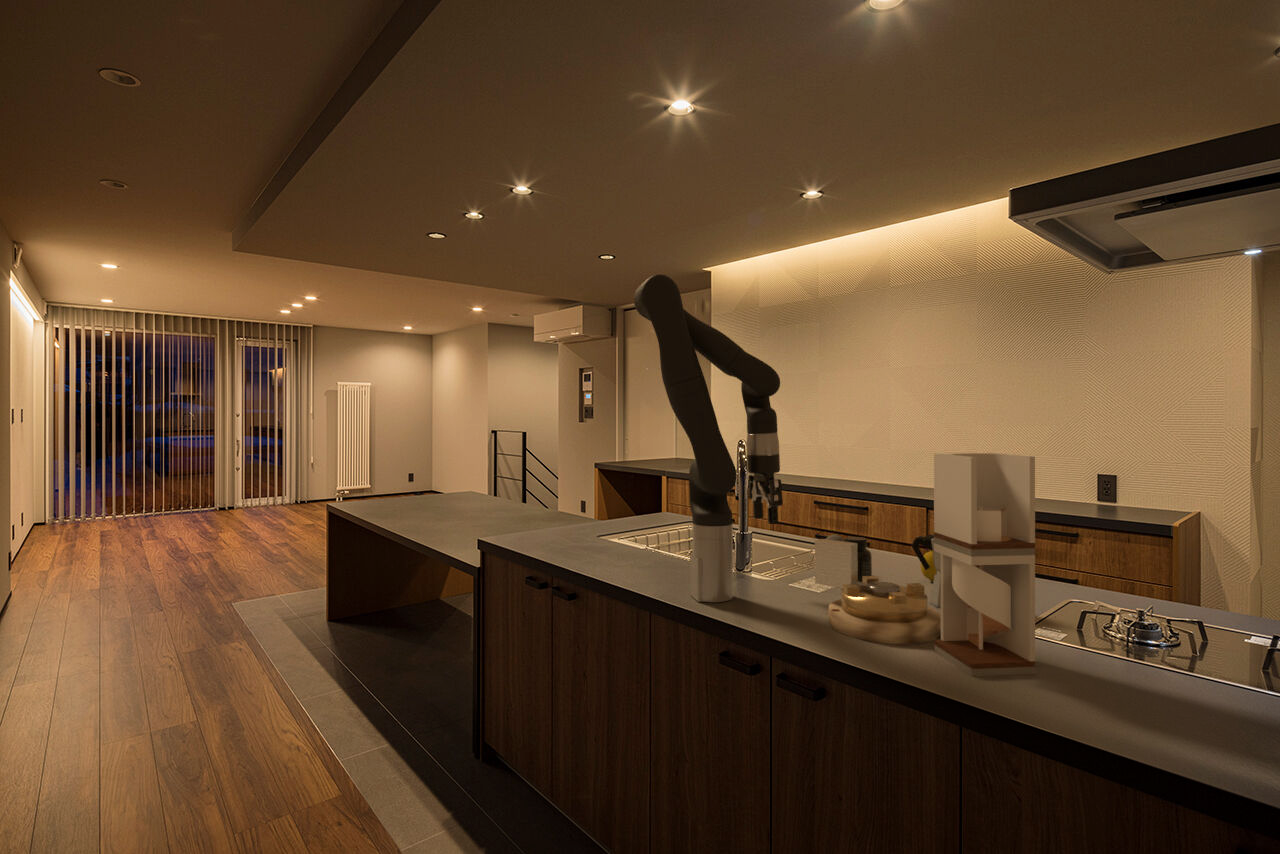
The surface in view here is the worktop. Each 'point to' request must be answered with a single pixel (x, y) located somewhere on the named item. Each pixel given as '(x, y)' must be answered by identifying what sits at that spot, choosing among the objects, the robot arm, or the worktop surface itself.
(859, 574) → the supplement bottle
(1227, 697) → the worktop surface
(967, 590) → the white tower model
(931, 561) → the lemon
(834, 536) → the light bulb
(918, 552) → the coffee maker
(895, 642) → the cap plate
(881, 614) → the gold stand with panel
